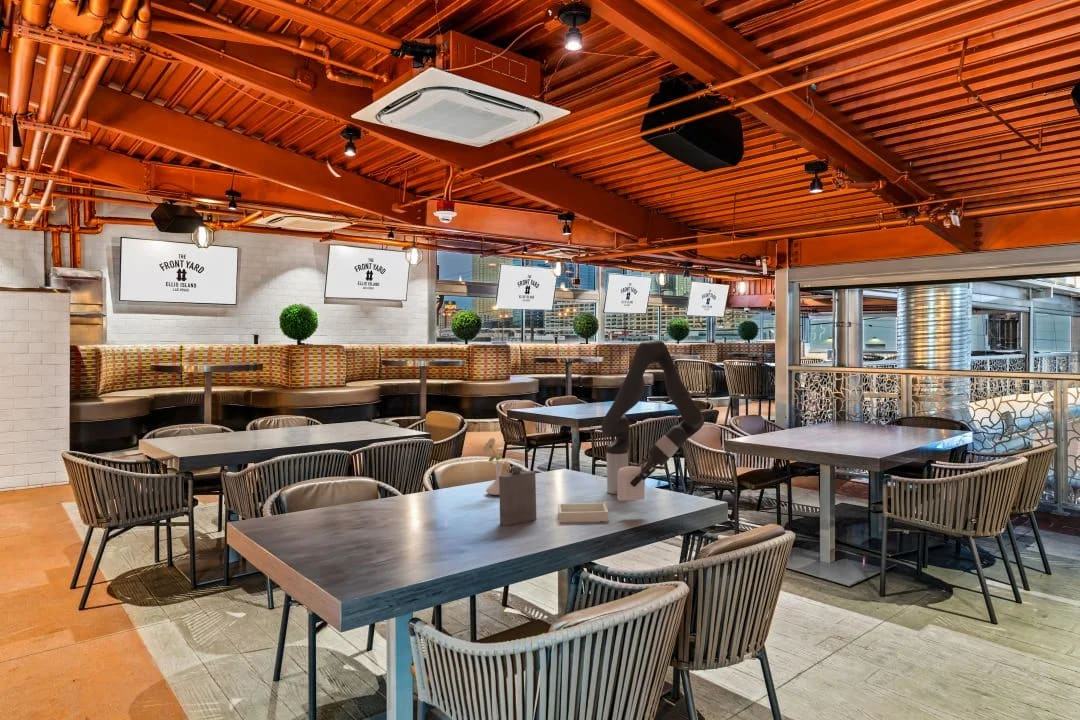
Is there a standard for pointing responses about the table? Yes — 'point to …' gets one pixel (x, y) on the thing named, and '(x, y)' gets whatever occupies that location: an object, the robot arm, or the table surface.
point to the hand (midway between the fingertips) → (631, 483)
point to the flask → (517, 496)
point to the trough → (583, 512)
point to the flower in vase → (494, 487)
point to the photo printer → (625, 488)
